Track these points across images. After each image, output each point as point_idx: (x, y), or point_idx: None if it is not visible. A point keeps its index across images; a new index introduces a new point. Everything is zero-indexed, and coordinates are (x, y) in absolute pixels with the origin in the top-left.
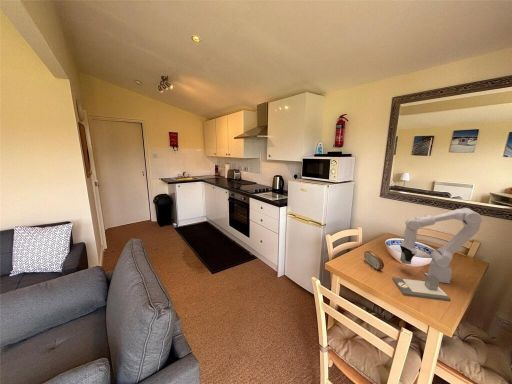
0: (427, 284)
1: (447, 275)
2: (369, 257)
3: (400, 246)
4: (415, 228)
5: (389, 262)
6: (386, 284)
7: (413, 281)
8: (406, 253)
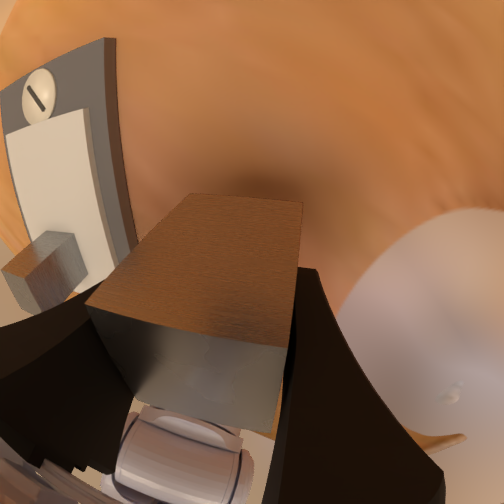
0: (43, 243)
1: None
2: None
3: (385, 501)
4: None
5: (443, 144)
6: (60, 6)
7: (78, 181)
8: (12, 334)
